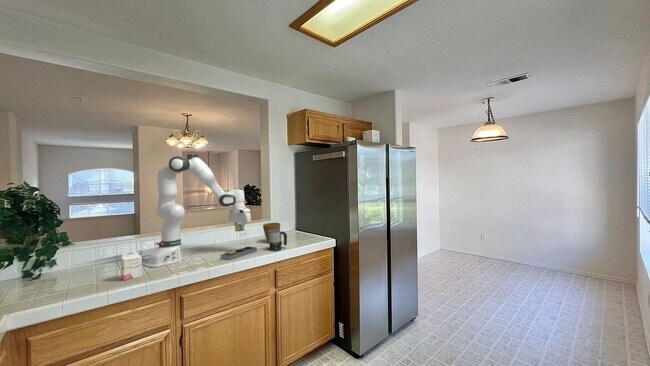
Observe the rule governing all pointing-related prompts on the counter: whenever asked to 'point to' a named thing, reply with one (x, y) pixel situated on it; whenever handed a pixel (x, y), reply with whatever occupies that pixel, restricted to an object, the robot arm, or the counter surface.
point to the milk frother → (276, 239)
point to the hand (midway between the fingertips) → (239, 228)
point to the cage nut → (238, 227)
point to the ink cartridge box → (131, 265)
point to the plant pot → (270, 228)
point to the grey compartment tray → (239, 253)
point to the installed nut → (230, 252)
